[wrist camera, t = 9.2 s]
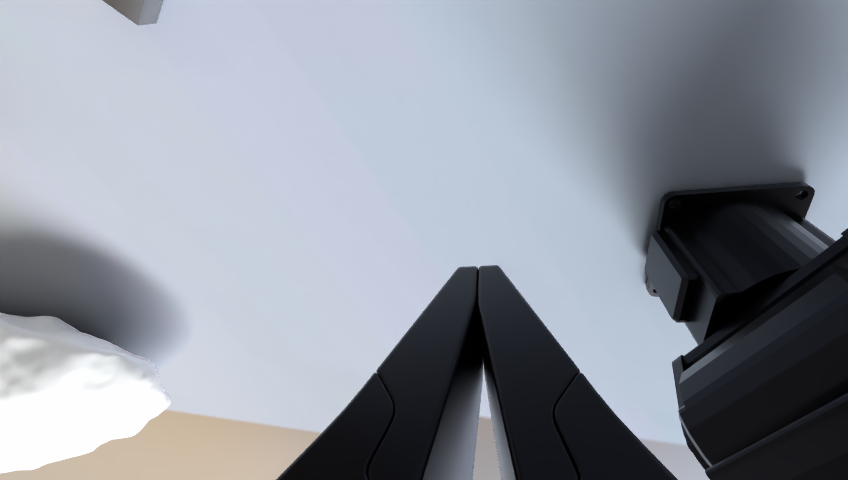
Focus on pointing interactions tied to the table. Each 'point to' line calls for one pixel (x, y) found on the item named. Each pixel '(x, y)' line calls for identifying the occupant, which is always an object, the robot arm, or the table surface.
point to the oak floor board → (138, 10)
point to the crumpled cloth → (68, 392)
